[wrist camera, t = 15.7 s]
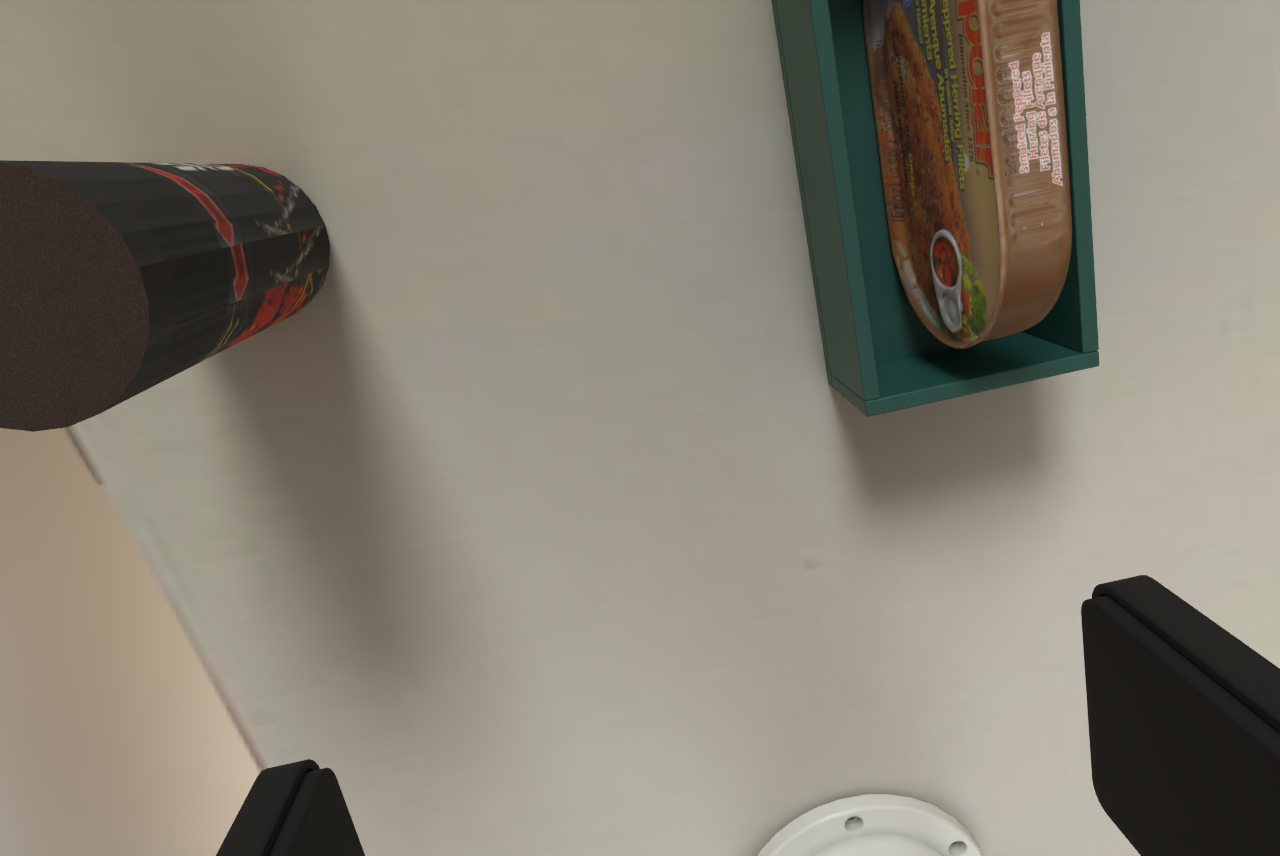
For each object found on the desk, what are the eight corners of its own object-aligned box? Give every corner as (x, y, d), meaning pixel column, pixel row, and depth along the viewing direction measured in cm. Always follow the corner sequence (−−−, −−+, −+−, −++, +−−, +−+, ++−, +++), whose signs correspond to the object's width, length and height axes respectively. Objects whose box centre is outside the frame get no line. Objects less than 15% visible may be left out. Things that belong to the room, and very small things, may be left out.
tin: (849, -81, 32) (943, -167, 23) (935, -99, 32) (1059, -191, 23) (898, 328, 36) (992, 375, 28) (973, 312, 36) (1089, 353, 28)
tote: (1031, 340, 37) (1100, 366, 32) (828, 384, 37) (866, 417, 32) (992, -165, 32) (1068, -225, 27) (754, -114, 32) (787, -165, 27)
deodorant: (296, 146, 33) (80, 128, 19) (351, 300, 35) (192, 393, 20) (143, 187, 33) (-191, 201, 19) (205, 339, 35) (-57, 459, 20)
